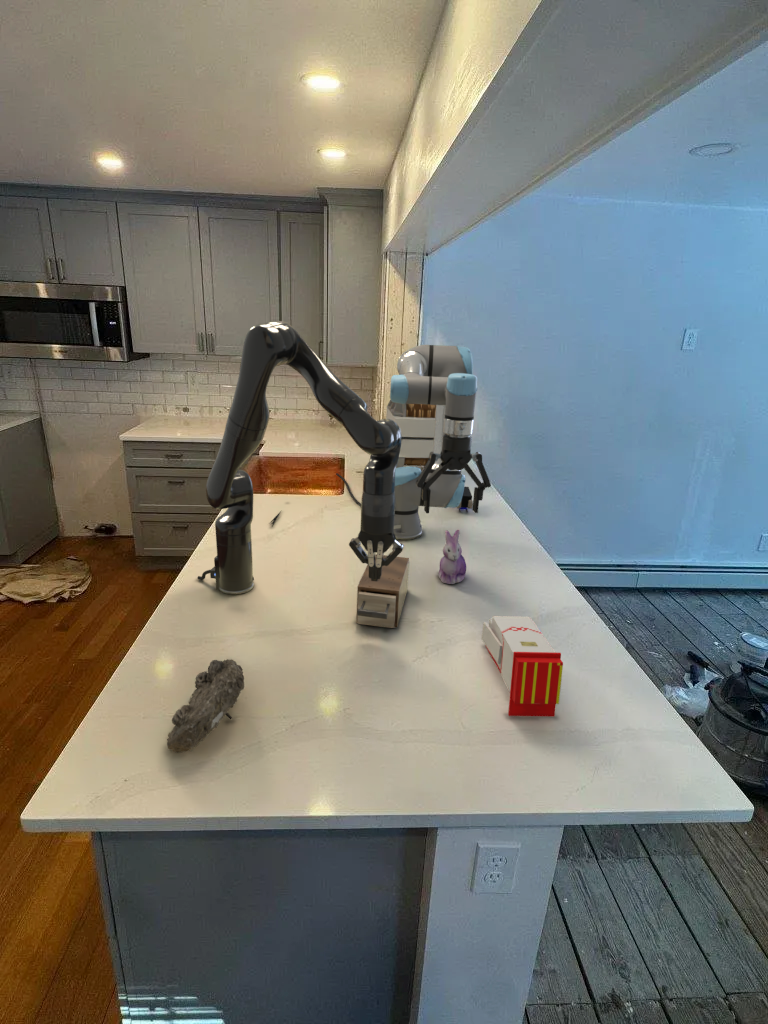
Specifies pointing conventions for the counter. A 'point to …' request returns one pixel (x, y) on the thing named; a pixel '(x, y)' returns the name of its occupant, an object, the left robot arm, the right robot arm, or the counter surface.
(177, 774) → the counter surface
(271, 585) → the counter surface
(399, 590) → the cabinet
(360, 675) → the counter surface
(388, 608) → the drawer
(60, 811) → the counter surface
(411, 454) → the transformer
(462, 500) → the figurine character
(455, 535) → the figurine
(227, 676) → the grey lumpy elongated piece
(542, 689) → the toy
